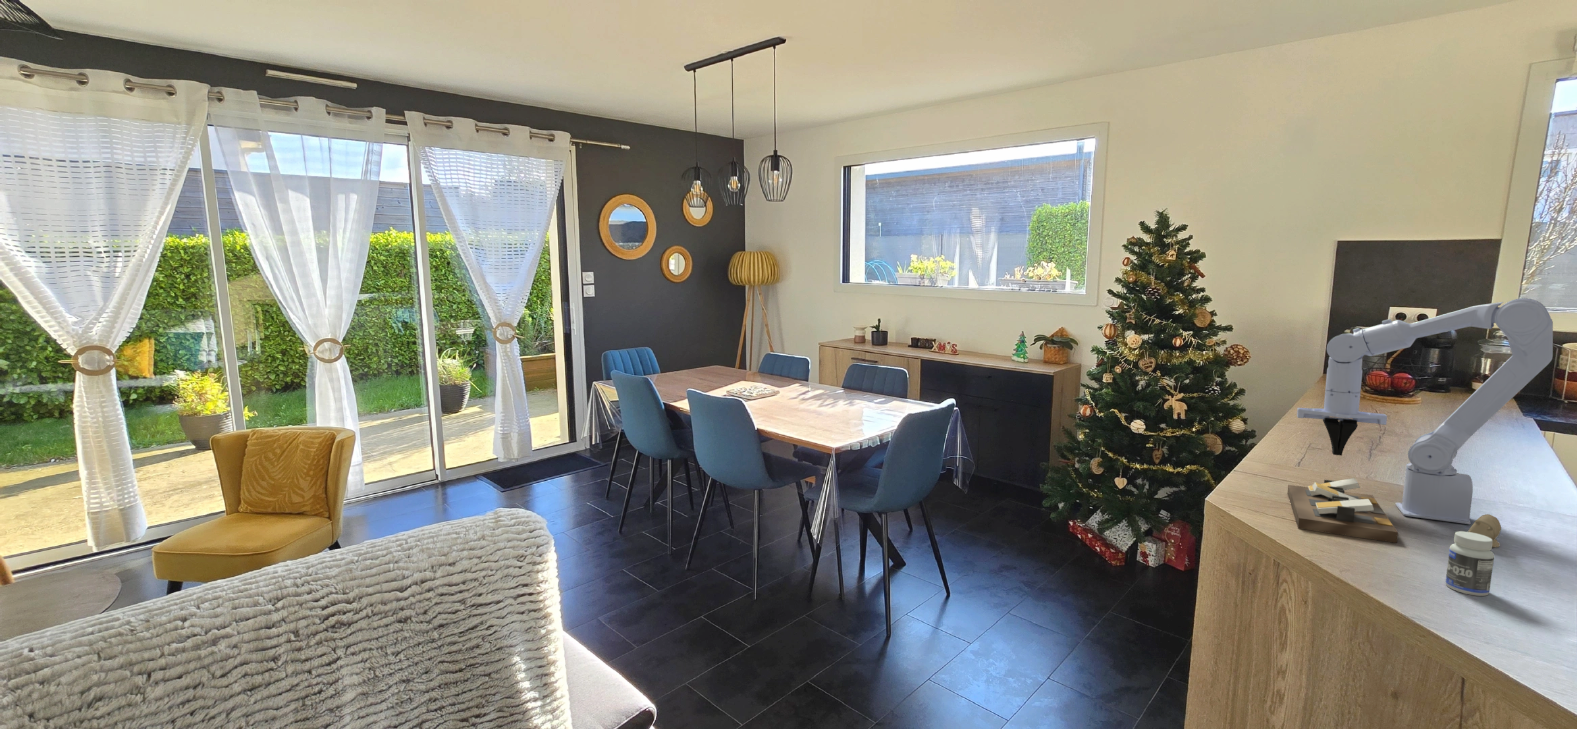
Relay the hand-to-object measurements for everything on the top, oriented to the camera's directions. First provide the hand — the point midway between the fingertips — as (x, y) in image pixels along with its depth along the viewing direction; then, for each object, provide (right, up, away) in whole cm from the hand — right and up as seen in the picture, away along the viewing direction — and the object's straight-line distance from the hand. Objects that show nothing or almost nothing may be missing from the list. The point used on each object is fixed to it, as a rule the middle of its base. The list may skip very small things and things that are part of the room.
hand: (1336, 454), depth 143 cm
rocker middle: (-8, -7, -10) cm, 15 cm away
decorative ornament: (+5, -13, -24) cm, 28 cm away
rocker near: (-12, -8, -16) cm, 22 cm away
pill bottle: (-14, -15, -41) cm, 46 cm away
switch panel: (-8, -11, -10) cm, 17 cm away
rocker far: (-5, -6, -5) cm, 9 cm away
